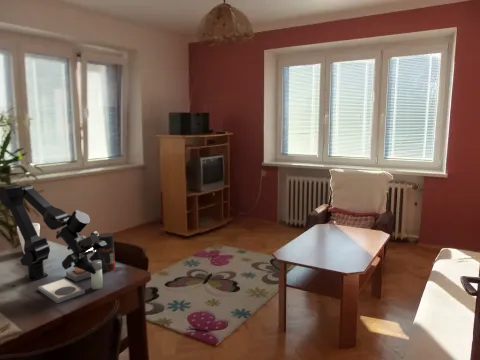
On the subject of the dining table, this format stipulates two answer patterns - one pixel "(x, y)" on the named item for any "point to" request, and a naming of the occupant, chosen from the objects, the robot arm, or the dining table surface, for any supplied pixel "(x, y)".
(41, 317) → the dining table surface
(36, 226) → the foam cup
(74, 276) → the button housing
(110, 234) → the deodorant
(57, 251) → the dining table surface
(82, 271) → the button
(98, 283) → the knob
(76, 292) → the board
